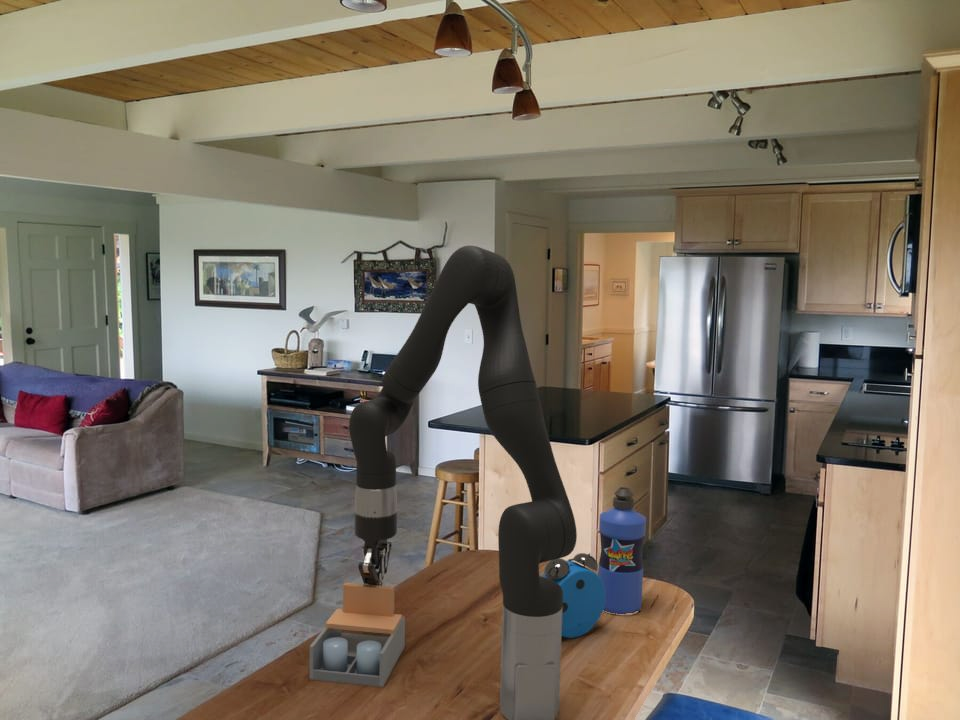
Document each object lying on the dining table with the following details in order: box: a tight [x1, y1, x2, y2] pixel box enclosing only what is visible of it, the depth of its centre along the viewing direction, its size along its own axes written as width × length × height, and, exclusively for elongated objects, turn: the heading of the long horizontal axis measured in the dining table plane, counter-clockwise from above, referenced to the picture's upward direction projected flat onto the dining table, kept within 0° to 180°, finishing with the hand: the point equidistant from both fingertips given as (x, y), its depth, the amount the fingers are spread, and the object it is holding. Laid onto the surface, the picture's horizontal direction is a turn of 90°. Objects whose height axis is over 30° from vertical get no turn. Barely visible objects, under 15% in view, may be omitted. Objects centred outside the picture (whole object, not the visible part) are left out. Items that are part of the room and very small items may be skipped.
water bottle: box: [597, 486, 647, 614], centre depth 161 cm, size 9×9×25 cm
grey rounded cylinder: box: [323, 637, 348, 672], centre depth 131 cm, size 4×4×5 cm
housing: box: [309, 615, 406, 688], centre depth 135 cm, size 14×12×7 cm
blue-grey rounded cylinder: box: [356, 640, 381, 676], centre depth 130 cm, size 4×4×5 cm
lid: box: [325, 582, 403, 635], centre depth 137 cm, size 6×12×6 cm, turn 81°
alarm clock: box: [540, 552, 605, 639], centre depth 149 cm, size 13×6×15 cm, turn 122°
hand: (375, 601), depth 143 cm, fingers closed
